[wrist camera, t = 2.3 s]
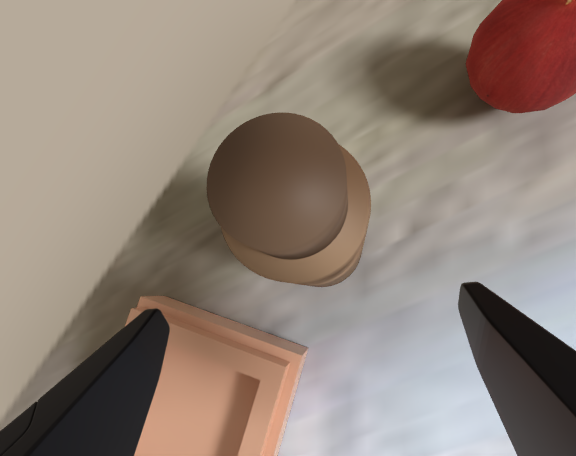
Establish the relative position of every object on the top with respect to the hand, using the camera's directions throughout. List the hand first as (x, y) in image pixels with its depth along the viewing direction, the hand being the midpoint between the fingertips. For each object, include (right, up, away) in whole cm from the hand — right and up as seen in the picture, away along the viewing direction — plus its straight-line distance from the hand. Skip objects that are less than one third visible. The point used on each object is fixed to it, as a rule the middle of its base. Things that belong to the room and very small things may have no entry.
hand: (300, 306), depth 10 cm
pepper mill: (+2, +1, +11) cm, 11 cm away
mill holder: (-5, -8, +10) cm, 14 cm away
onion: (+13, +10, +10) cm, 19 cm away
